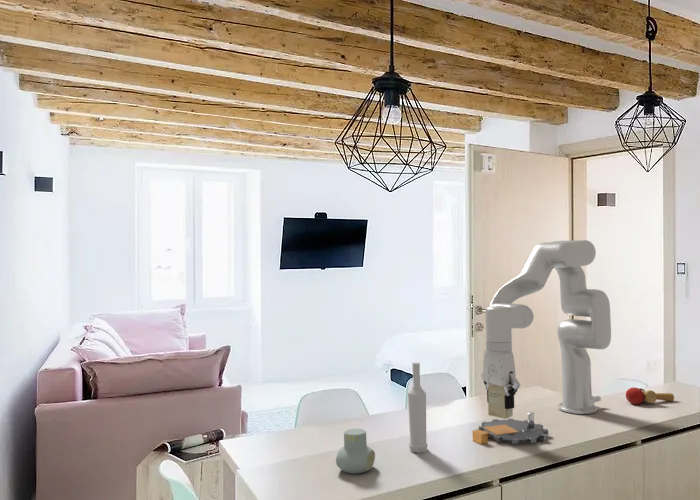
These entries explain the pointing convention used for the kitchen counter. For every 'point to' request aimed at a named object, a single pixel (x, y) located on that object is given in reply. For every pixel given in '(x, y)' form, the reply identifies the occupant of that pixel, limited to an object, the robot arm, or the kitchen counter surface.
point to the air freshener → (355, 452)
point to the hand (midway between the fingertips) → (500, 404)
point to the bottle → (417, 413)
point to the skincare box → (497, 402)
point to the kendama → (646, 396)
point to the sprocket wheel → (515, 430)
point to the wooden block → (480, 437)
